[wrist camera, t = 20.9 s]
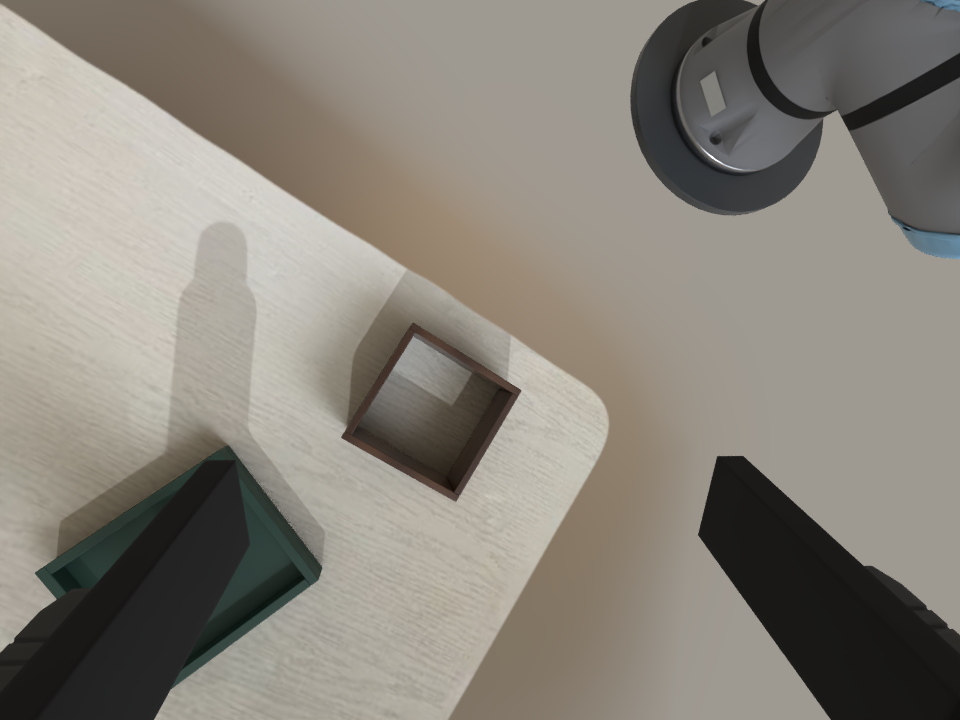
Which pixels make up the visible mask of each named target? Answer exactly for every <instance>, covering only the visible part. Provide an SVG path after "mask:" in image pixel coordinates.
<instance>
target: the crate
mask: <svg viewBox="0 0 960 720" xmlns="http://www.w3.org/2000/svg"><path fill="white" fill-rule="evenodd" d="M413 336H414V337H416V338H417V339H419V340H421V341H422V342H424V343H425V344H427V345H429V346H430V347H432V348H433V349H435V350H437V351H438V352H440V353H442V354H443V355H445V356H446V357H448V358H450V359H451V360H453V361H455V362H456V363H458V364H459V365H461V366H463V367H464V368H466V369H467V370H469V371H471V372H472V373H474V374H476V375H477V376H479V377H480V378H482V379H484V380H485V381H487V382H488V383H490V384H492V385H493V386H495V387H497V388H498V389H499V390H498V392H497V393H496V395H495V397H494V398H493V400H492V402H491V403H490V405H489V407H488V409H487V410H486V412H485V414H484V415H483V417H482V419H481V420H480V422H479V424H478V425H477V427H476V429H475V430H474V432H473V434H472V435H471V437H470V439H469V440H468V442H467V444H466V446H465V447H464V449H463V451H462V452H461V454H460V456H459V457H458V459H457V461H456V462H455V464H454V466H453V467H452V469H451V471H450V472H449V474H448V476H447V477H445V476H443V475H442V474H440V473H438V472H436V471H434V470H433V469H431V468H429V467H427V466H426V465H424V464H422V463H420V462H419V461H417V460H415V459H413V458H412V457H410V456H408V455H406V454H404V453H403V452H401V451H399V450H397V449H396V448H394V447H392V446H390V445H389V444H387V443H385V442H383V441H382V440H380V439H378V438H376V437H374V436H373V435H371V434H369V433H367V432H366V431H364V430H362V429H360V428H359V427H357V426H358V424H359V422H360V421H361V419H362V418H363V416H364V414H365V413H366V411H367V410H368V408H369V406H370V405H371V403H372V401H373V400H374V398H375V397H376V395H377V393H378V392H379V390H380V389H381V387H382V385H383V384H384V382H385V381H386V379H387V377H388V376H389V374H390V373H391V371H392V369H393V368H394V366H395V365H396V363H397V361H398V360H399V358H400V357H401V355H402V353H403V352H404V350H405V348H406V347H407V345H408V344H409V342H410V340H411V339H412V337H413ZM520 392H521V390H520V389H519V388H517V387H515V386H514V385H512V384H511V383H509V382H507V381H506V380H504V379H503V378H501V377H499V376H498V375H496V374H495V373H493V372H491V371H490V370H488V369H487V368H485V367H483V366H482V365H480V364H479V363H477V362H475V361H474V360H472V359H471V358H469V357H467V356H466V355H464V354H462V353H461V352H459V351H458V350H456V349H454V348H453V347H451V346H450V345H448V344H446V343H445V342H443V341H442V340H440V339H438V338H437V337H435V336H434V335H432V334H430V333H429V332H427V331H426V330H424V329H422V328H421V327H419V326H418V325H416V324H414V323H412V325H411V326H410V328H409V329H408V331H407V332H406V334H405V336H404V337H403V339H402V340H401V342H400V344H399V345H398V347H397V348H396V350H395V352H394V353H393V355H392V356H391V358H390V360H389V361H388V363H387V364H386V366H385V368H384V369H383V371H382V372H381V374H380V376H379V377H378V379H377V380H376V382H375V384H374V385H373V387H372V388H371V390H370V392H369V393H368V395H367V396H366V398H365V400H364V401H363V403H362V404H361V406H360V408H359V409H358V411H357V412H356V414H355V416H354V417H353V419H352V420H351V422H350V424H349V425H348V427H347V428H346V430H345V432H344V433H343V435H342V437H341V438H342V439H344V440H346V441H348V442H350V443H351V444H353V445H355V446H357V447H358V448H360V449H362V450H364V451H366V452H367V453H369V454H371V455H373V456H375V457H376V458H378V459H380V460H382V461H384V462H385V463H387V464H389V465H391V466H393V467H394V468H396V469H398V470H400V471H401V472H403V473H405V474H407V475H409V476H410V477H412V478H414V479H416V480H418V481H419V482H421V483H423V484H425V485H427V486H428V487H430V488H432V489H434V490H435V491H437V492H439V493H441V494H443V495H444V496H446V497H448V498H450V499H452V500H453V501H455V502H456V501H457V500H458V498H459V495H460V494H461V493H462V491H463V489H464V488H465V486H466V484H467V483H468V481H469V479H470V477H471V476H472V474H473V472H474V471H475V469H476V467H477V466H478V464H479V462H480V460H481V459H482V457H483V455H484V454H485V452H486V450H487V449H488V447H489V445H490V443H491V442H492V440H493V438H494V437H495V435H496V433H497V432H498V430H499V428H500V426H501V425H502V423H503V421H504V420H505V418H506V416H507V415H508V413H509V411H510V409H511V408H512V406H513V404H514V403H515V401H516V399H517V398H518V396H519V394H520Z"/></svg>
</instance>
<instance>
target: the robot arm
mask: <svg viewBox="0 0 960 720" xmlns="http://www.w3.org/2000/svg"><path fill="white" fill-rule="evenodd" d="M670 103H671V112H672V116H673V120H674V123H675V126H676V129H677V131H678V134H679V136H680V138H681V139H682V141H683V143H684V144H685V146H686V147H687V148H688V150H689V151H690V152H691V153H692V154H693V155H694V156H695V157H696V158H697V159H698V160H699V161H700V162H701V163H703V164H704V165H706V166H707V167H709V168H710V169H712V170H714V171H717V172H719V173H722V174H726V175H732V176H746V175H751V174H755V173H758V172H760V171H762V170H764V169H766V168H768V167H770V166H772V165H774V164H776V163H777V162H779V161H780V160H782V159H783V158H784V157H785V156H787V155H788V154H789V153H790V152H791V151H792V150H793V149H794V148H795V147H796V145H797V144H798V143H799V142H800V141H801V140H803V139H804V138H805V137H806V136H807V135H808V134H809V133H810V132H811V131H812V130H813V129H814V128H815V126H816V125H817V124H818V123H819V122H820V121H821V120H822V119H823V118H824V117H825V116H827V115H829V114H831V113H832V112H834V111H836V110H838V111H839V113H840V115H841V117H842V119H843V121H844V123H845V125H846V126H847V128H848V130H849V132H850V134H851V136H852V138H853V140H854V142H855V144H856V146H857V148H858V150H859V152H860V154H861V156H862V158H863V160H864V162H865V164H866V166H867V168H868V170H869V172H870V174H871V176H872V178H873V180H874V182H875V184H876V186H877V188H878V190H879V192H880V194H881V196H882V198H883V200H884V202H885V204H886V206H887V208H888V213H889V215H890V216H891V219H892V220H893V221H894V222H895V223H896V224H897V225H898V226H899V227H900V228H901V230H902V231H903V233H904V234H905V236H906V238H907V239H908V241H909V242H910V243H911V244H912V245H913V246H914V247H915V248H916V249H918V250H919V251H921V252H924V253H926V254H929V255H932V256H936V257H941V258H952V259H960V0H765V1H764V2H763V3H762V4H761V5H759V6H757V7H755V8H752V9H750V10H748V11H746V12H744V13H742V14H740V15H738V16H736V17H734V18H732V19H730V20H728V21H726V22H724V23H722V24H719V25H717V26H716V27H714V28H712V29H711V30H709V31H708V32H706V33H705V34H703V35H702V36H701V37H700V38H699V39H698V40H697V41H696V42H695V43H694V44H693V45H692V46H691V47H690V48H689V49H688V50H687V51H686V52H685V54H684V55H683V56H682V58H681V59H680V61H679V63H678V65H677V67H676V69H675V72H674V75H673V79H672V83H671V92H670ZM698 536H699V537H700V538H701V540H702V541H703V542H704V544H705V545H706V547H707V548H708V550H709V551H710V552H711V554H712V555H713V556H714V558H715V559H716V561H717V562H718V563H719V565H720V566H721V568H722V569H723V570H724V572H725V573H726V575H727V576H728V577H729V579H730V580H731V581H732V583H733V584H734V586H735V587H736V588H737V590H738V591H739V593H740V594H741V595H742V597H743V598H744V600H745V601H746V602H747V604H748V605H749V606H750V608H751V609H752V611H753V612H754V613H755V615H756V616H757V618H758V619H759V620H760V622H761V623H762V625H763V626H764V627H765V629H766V630H767V632H768V633H769V634H770V636H771V637H772V638H773V640H774V641H775V643H776V644H777V645H778V647H779V648H780V650H781V651H782V652H783V654H784V655H785V656H786V658H787V659H788V661H789V662H790V663H791V665H792V666H793V668H794V669H795V670H796V672H797V673H798V675H799V676H800V677H801V679H802V680H803V682H804V683H805V684H806V686H807V687H808V688H809V690H810V691H811V693H812V694H813V695H814V697H815V698H816V700H817V701H818V702H819V704H820V705H821V707H822V708H823V709H824V711H825V712H826V714H827V715H828V716H829V718H830V719H831V720H960V635H959V634H958V633H957V632H956V631H955V630H953V629H949V628H948V627H947V623H945V622H944V621H943V620H942V619H941V618H940V617H939V616H937V615H936V614H935V613H934V612H933V611H932V610H928V609H927V608H926V605H925V604H924V603H923V602H921V601H920V600H919V599H918V598H917V597H916V596H914V595H913V594H912V593H911V592H910V591H909V590H908V589H907V588H905V587H904V586H903V585H902V584H900V583H899V582H897V581H896V580H894V579H892V578H891V577H889V576H887V575H886V574H884V573H883V572H881V571H879V570H878V569H876V568H874V567H873V566H863V565H862V564H861V563H860V562H859V561H857V559H855V558H854V557H853V556H852V555H851V554H850V553H849V552H848V551H846V549H844V548H843V547H842V546H841V545H840V544H839V543H838V542H837V541H836V540H835V539H833V538H832V537H831V536H830V535H829V534H828V533H827V532H826V531H825V530H824V529H823V528H821V527H820V526H819V525H818V524H817V523H816V522H815V521H814V520H813V519H812V518H810V517H809V516H808V515H807V514H806V513H805V512H804V511H803V510H802V509H801V508H799V507H798V506H797V505H796V504H795V503H794V502H793V501H792V500H791V499H790V498H789V497H787V496H786V495H785V494H784V493H783V492H782V491H781V490H780V489H779V488H778V487H776V486H775V485H774V484H773V483H772V482H771V481H770V480H769V479H768V478H767V477H765V476H764V475H763V474H762V473H761V472H760V471H759V470H758V469H757V468H756V467H754V466H753V465H752V464H751V463H750V462H749V461H748V460H747V459H746V458H745V457H744V456H718V457H717V459H716V464H715V468H714V472H713V476H712V480H711V484H710V488H709V492H708V496H707V501H706V505H705V509H704V513H703V517H702V521H701V525H700V530H699V533H698ZM249 546H250V540H249V534H248V528H247V522H246V517H245V511H244V505H243V499H242V494H241V488H240V482H239V476H238V471H237V465H236V460H205V461H204V462H203V463H202V464H201V466H200V467H199V468H198V469H197V470H196V471H195V472H194V474H193V475H192V476H191V477H190V478H189V479H188V480H187V481H186V483H185V484H184V485H183V486H182V487H181V488H180V489H179V491H178V492H177V493H176V494H175V495H174V496H173V497H172V498H171V500H170V501H169V502H168V503H167V504H166V505H165V506H164V507H163V509H162V510H161V511H160V512H159V513H158V514H157V515H156V517H155V518H154V519H153V520H152V521H151V522H150V523H149V524H148V526H147V527H146V528H145V529H144V530H143V531H142V532H141V534H140V535H139V536H138V537H137V538H136V539H135V540H134V541H133V543H132V544H131V545H130V546H129V547H128V548H127V549H126V551H125V552H124V553H123V554H122V555H121V556H120V557H119V558H118V560H117V561H116V562H115V563H114V564H113V565H112V566H111V568H110V569H109V570H108V571H107V572H106V573H105V574H104V575H103V577H102V578H101V579H100V580H99V581H98V582H97V583H96V585H95V586H94V587H93V588H77V589H72V590H70V591H69V592H67V593H66V594H64V595H63V596H61V597H60V598H59V599H57V600H56V601H54V602H53V603H51V604H50V605H49V606H47V607H46V608H44V609H43V610H41V611H40V612H39V613H38V614H37V615H36V616H35V617H34V618H33V619H32V620H31V621H30V622H29V624H28V625H27V626H26V627H25V628H24V629H23V630H22V631H21V632H20V633H19V634H18V635H17V636H16V637H15V638H14V639H15V640H14V642H13V643H12V644H8V645H7V647H6V648H5V649H4V650H3V651H2V652H1V653H0V720H154V719H155V717H156V715H157V713H158V711H159V709H160V708H161V706H162V704H163V702H164V700H165V699H166V697H167V695H168V693H169V691H170V689H171V688H172V686H173V684H174V682H175V680H176V679H177V677H178V675H179V673H180V671H181V669H182V668H183V666H184V664H185V662H186V660H187V659H188V657H189V655H190V653H191V651H192V649H193V648H194V646H195V644H196V642H197V640H198V639H199V637H200V635H201V633H202V631H203V629H204V628H205V626H206V624H207V622H208V620H209V619H210V617H211V615H212V613H213V611H214V609H215V608H216V606H217V604H218V602H219V600H220V598H221V597H222V595H223V593H224V591H225V589H226V588H227V586H228V584H229V582H230V580H231V578H232V577H233V575H234V573H235V571H236V569H237V568H238V566H239V564H240V562H241V560H242V558H243V557H244V555H245V553H246V551H247V549H248V548H249Z"/></svg>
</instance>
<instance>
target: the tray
mask: <svg viewBox="0 0 960 720" xmlns="http://www.w3.org/2000/svg"><path fill="white" fill-rule="evenodd" d="M205 460H236V465H237V471H238V476H239V482H240V488H241V494H242V499H243V505H244V511H245V517H246V522H247V528H248V534H249V540H250V546H249V548H248V549H247V551H246V553H245V555H244V557H243V558H242V560H241V562H240V564H239V566H238V568H237V569H236V571H235V573H234V575H233V577H232V578H231V580H230V582H229V584H228V586H227V588H226V589H225V591H224V593H223V595H222V597H221V598H220V600H219V602H218V604H217V606H216V608H215V609H214V611H213V613H212V615H211V617H210V619H209V620H208V622H207V624H206V626H205V628H204V629H203V631H202V633H201V635H200V637H199V639H198V640H197V642H196V644H195V646H194V648H193V649H192V651H191V653H190V655H189V657H188V659H187V660H186V662H185V664H184V666H183V668H182V669H181V671H180V673H179V675H178V677H177V679H176V680H175V682H174V684H173V686H172V688H173V687H175V686H176V685H177V684H179V683H180V682H181V681H183V680H184V679H185V678H187V677H188V676H189V675H191V674H192V673H193V672H195V671H196V670H198V669H199V668H200V667H202V666H203V665H204V664H206V663H207V662H208V661H210V660H211V659H212V658H214V657H215V656H216V655H218V654H219V653H221V652H222V651H223V650H225V649H226V648H227V647H229V646H230V645H231V644H233V643H234V642H235V641H237V640H238V639H239V638H241V637H242V636H243V635H245V634H246V633H248V632H249V631H250V630H252V629H253V628H254V627H256V626H257V625H258V624H260V623H261V622H262V621H264V620H265V619H266V618H268V617H269V616H270V615H272V614H273V613H275V612H276V611H277V610H279V609H280V608H281V607H283V606H284V605H285V604H287V603H288V602H289V601H291V600H292V599H293V598H295V597H296V596H297V595H299V594H300V593H302V592H303V591H304V590H306V589H307V588H308V587H310V585H312V584H314V583H315V582H316V581H318V580H319V577H320V573H321V571H322V567H321V565H320V564H319V563H318V561H317V560H316V559H315V558H314V556H313V555H312V554H311V552H310V551H309V550H308V548H307V547H306V546H305V545H304V543H303V542H302V541H301V539H300V538H299V537H298V535H297V534H296V533H295V531H294V530H293V529H292V528H291V526H290V525H289V524H288V522H287V521H286V520H285V518H284V517H283V516H282V515H281V513H280V512H279V511H278V509H277V508H276V507H275V505H274V504H273V503H272V501H271V500H270V499H269V498H268V496H267V495H266V494H265V492H264V491H263V490H262V488H261V487H260V486H259V485H258V483H257V482H256V481H255V479H254V478H253V477H252V475H251V474H250V473H249V471H248V470H247V469H246V468H245V466H244V465H243V464H242V462H241V461H240V460H239V458H238V457H237V456H236V455H235V453H234V452H233V451H232V449H231V448H230V447H229V446H226V447H224V448H222V449H220V450H219V451H217V452H215V453H214V454H212V455H211V456H209V457H208V458H206V459H205ZM205 460H203V461H202V462H200V463H199V464H197V465H196V466H194V467H193V468H191V469H190V470H188V471H187V472H185V473H184V474H182V475H181V476H179V477H178V478H176V479H175V480H173V481H172V482H170V483H169V484H167V485H166V486H164V487H163V488H161V489H160V490H158V491H157V492H155V493H154V494H152V495H151V496H149V497H148V498H146V499H145V500H143V501H142V502H140V503H139V504H137V505H136V506H134V507H133V508H131V509H130V510H128V511H127V512H125V513H124V514H122V515H121V516H119V517H118V518H116V519H115V520H113V521H112V522H110V523H109V524H107V525H106V526H104V527H103V528H101V529H100V530H98V531H97V532H95V533H94V534H92V535H91V536H89V537H88V538H86V539H85V540H83V541H82V542H80V543H79V544H77V545H76V546H74V547H73V548H71V549H70V550H68V551H67V552H65V553H64V554H62V555H61V556H59V557H58V558H56V559H55V560H53V561H52V562H50V563H49V564H47V565H46V566H44V567H43V568H41V569H40V570H38V571H37V572H35V574H36V575H37V576H38V578H39V579H40V580H41V581H42V582H43V583H44V585H45V586H46V587H47V588H48V589H49V590H50V592H51V593H52V594H53V595H54V596H55V597H56V599H59V598H60V597H61V596H63V595H64V594H66V593H67V592H69V591H70V590H72V589H77V588H93V587H94V586H95V585H96V583H97V582H98V581H99V580H100V579H101V578H102V577H103V575H104V574H105V573H106V572H107V571H108V570H109V569H110V568H111V566H112V565H113V564H114V563H115V562H116V561H117V560H118V558H119V557H120V556H121V555H122V554H123V553H124V552H125V551H126V549H127V548H128V547H129V546H130V545H131V544H132V543H133V541H134V540H135V539H136V538H137V537H138V536H139V535H140V534H141V532H142V531H143V530H144V529H145V528H146V527H147V526H148V524H149V523H150V522H151V521H152V520H153V519H154V518H155V517H156V515H157V514H158V513H159V512H160V511H161V510H162V509H163V507H164V506H165V505H166V504H167V503H168V502H169V501H170V500H171V498H172V497H173V496H174V495H175V494H176V493H177V492H178V491H179V489H180V488H181V487H182V486H183V485H184V484H185V483H186V481H187V480H188V479H189V478H190V477H191V476H192V475H193V474H194V472H195V471H196V470H197V469H198V468H199V467H200V466H201V464H202V463H203V462H204V461H205ZM172 688H171V689H172ZM171 689H170V690H171Z"/></svg>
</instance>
